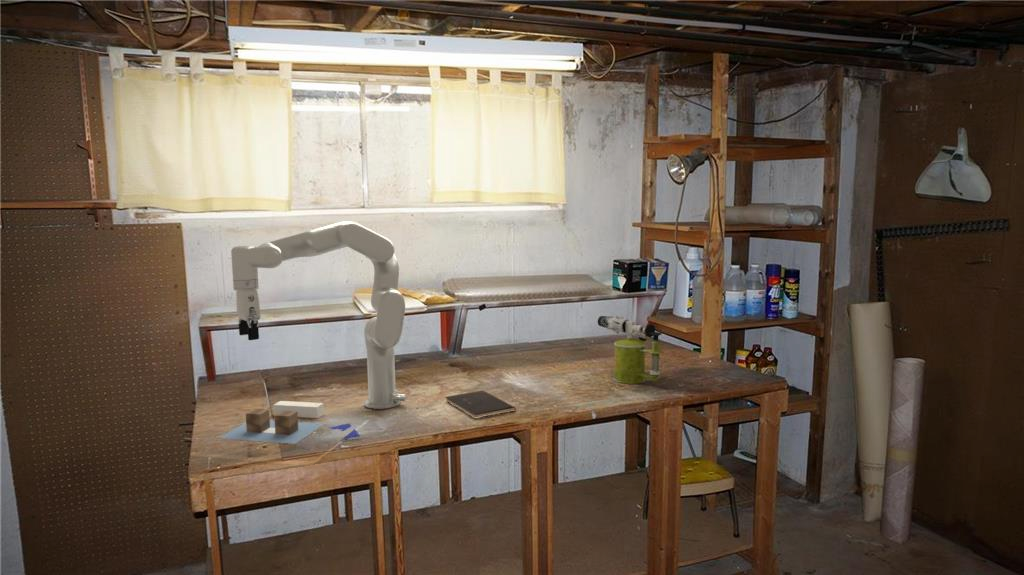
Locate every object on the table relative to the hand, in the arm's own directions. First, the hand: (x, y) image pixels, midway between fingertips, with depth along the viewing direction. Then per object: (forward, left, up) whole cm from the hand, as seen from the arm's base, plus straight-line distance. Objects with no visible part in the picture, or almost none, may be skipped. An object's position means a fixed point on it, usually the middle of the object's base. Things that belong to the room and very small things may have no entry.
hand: (249, 337), depth 220 cm
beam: (-11, -9, -30) cm, 33 cm away
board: (-11, +7, -29) cm, 32 cm away
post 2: (-16, +7, -28) cm, 33 cm away
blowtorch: (-118, -76, -29) cm, 143 cm away
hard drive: (-33, +3, -30) cm, 45 cm away
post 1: (-6, +7, -28) cm, 30 cm away
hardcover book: (-68, -32, -30) cm, 81 cm away
